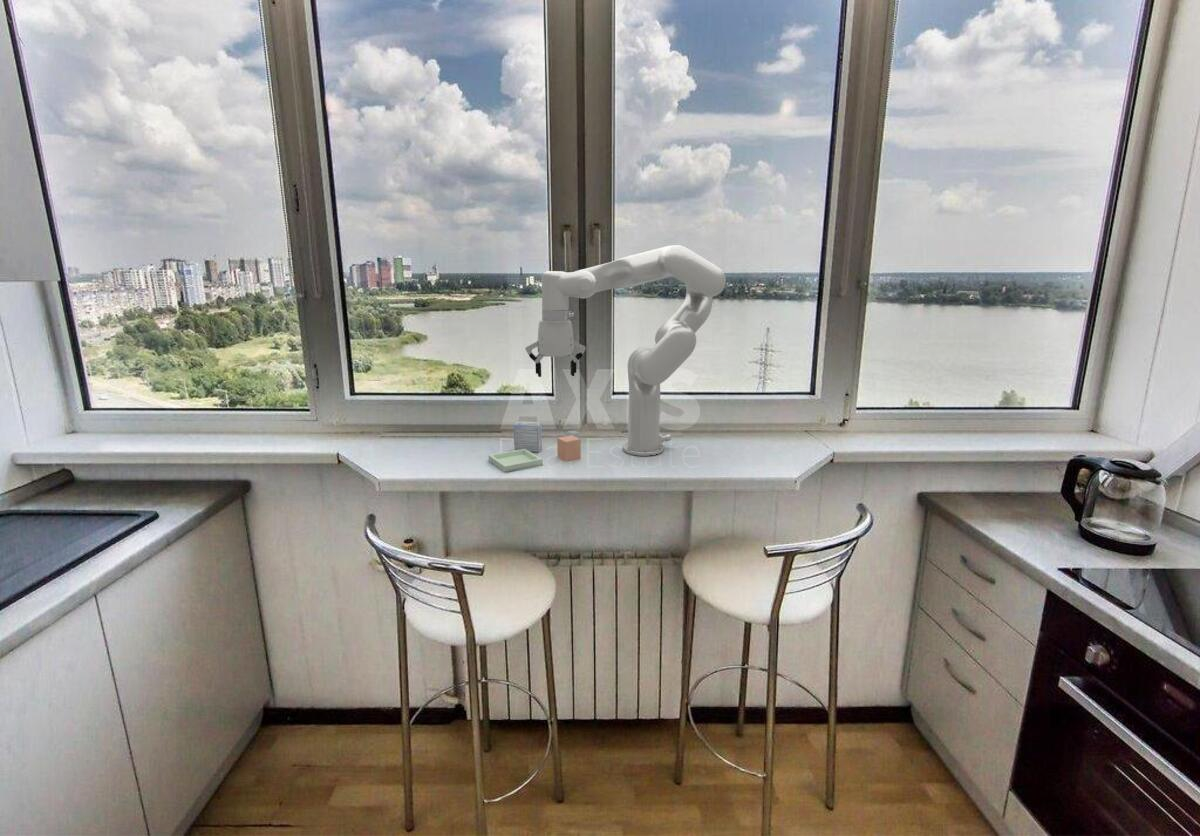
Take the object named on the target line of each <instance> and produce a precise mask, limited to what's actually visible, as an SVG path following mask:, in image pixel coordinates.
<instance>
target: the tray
mask: <svg viewBox="0 0 1200 836" xmlns="http://www.w3.org/2000/svg"><path fill="white" fill-rule="evenodd" d="M488 462H489V463H491V464H493V465H494V466H495V467H496V468H497V469H499V470H500V471H502V472H503V471H504V472H503V473H505V472H506V473H510V472H515V471H520V470H525V469H531V468H536V467H541V466H543V465H544V464H543V463H544V462H543V458H542V457H540V456H538V455H537V454H535V453H534V452H530V451H528V450H526V449H520V450H514V449H513V450H511V451H505V452H498V453H493V454H488Z"/></svg>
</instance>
